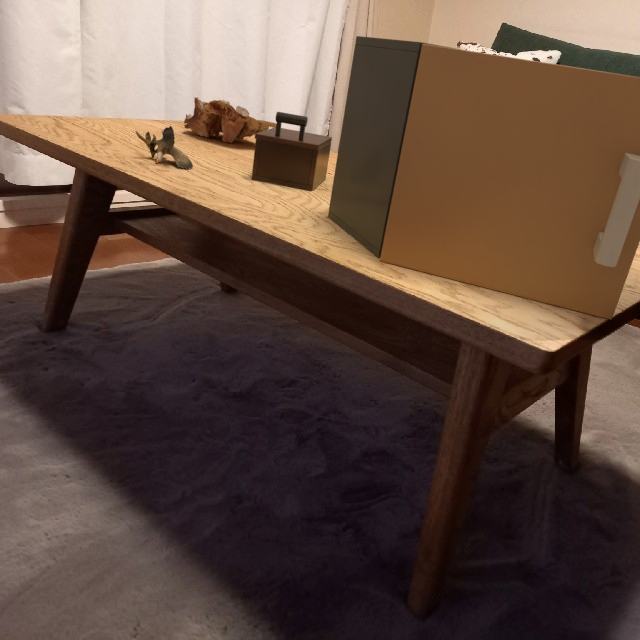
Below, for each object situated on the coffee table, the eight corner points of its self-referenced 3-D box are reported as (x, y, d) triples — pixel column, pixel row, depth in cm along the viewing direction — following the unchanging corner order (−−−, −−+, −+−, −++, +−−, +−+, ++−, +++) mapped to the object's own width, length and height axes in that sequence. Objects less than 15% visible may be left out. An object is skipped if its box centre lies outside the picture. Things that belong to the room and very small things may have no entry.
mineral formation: (283, 148, 137) (291, 104, 137) (218, 121, 126) (227, 73, 127) (227, 160, 154) (235, 121, 155) (167, 137, 144) (175, 95, 144)
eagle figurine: (127, 152, 107) (167, 153, 102) (140, 115, 108) (181, 114, 104) (156, 175, 113) (195, 176, 109) (169, 139, 115) (208, 139, 110)
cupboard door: (615, 339, 63) (707, 85, 54) (364, 273, 70) (409, 39, 61) (611, 317, 69) (693, 85, 60) (381, 259, 76) (424, 44, 67)
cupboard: (553, 266, 85) (611, 76, 76) (377, 259, 76) (420, 42, 67) (480, 227, 101) (522, 65, 91) (327, 217, 91) (356, 35, 82)
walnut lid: (317, 150, 103) (321, 120, 102) (254, 138, 105) (257, 109, 103) (331, 141, 116) (335, 115, 114) (275, 131, 117) (278, 105, 115)
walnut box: (312, 191, 107) (318, 149, 104) (251, 179, 108) (255, 138, 105) (325, 179, 118) (331, 141, 116) (270, 168, 119) (274, 131, 117)
